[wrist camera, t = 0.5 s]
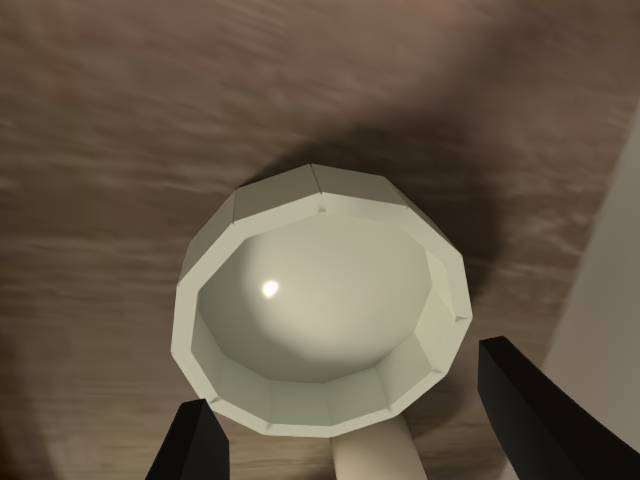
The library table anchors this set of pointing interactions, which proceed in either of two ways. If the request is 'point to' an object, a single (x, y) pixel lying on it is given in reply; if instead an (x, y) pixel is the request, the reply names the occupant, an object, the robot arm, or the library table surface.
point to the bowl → (318, 304)
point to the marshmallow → (377, 453)
